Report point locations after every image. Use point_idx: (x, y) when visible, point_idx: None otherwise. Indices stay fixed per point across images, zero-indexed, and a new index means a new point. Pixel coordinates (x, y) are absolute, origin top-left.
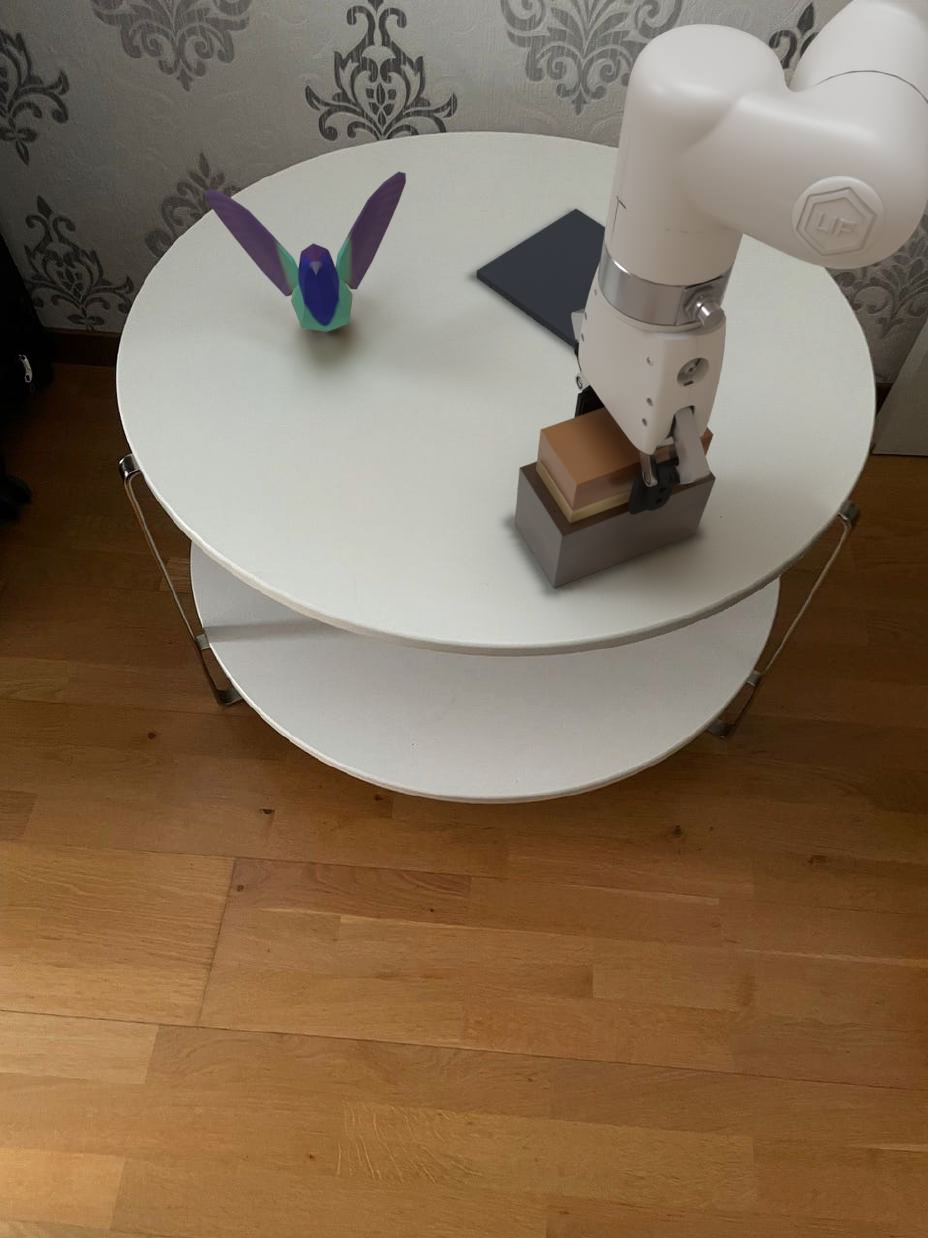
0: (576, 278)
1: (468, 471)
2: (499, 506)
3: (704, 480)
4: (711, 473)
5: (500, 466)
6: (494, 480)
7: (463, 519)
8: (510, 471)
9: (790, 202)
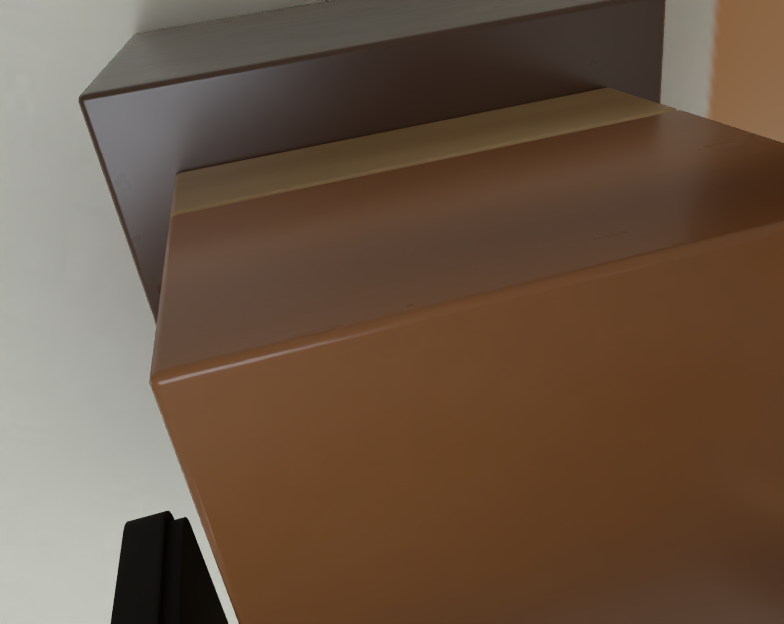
0: None
1: (58, 608)
2: (208, 544)
3: (649, 71)
4: (629, 7)
5: (45, 533)
6: (104, 551)
7: (236, 619)
8: (70, 510)
9: None
